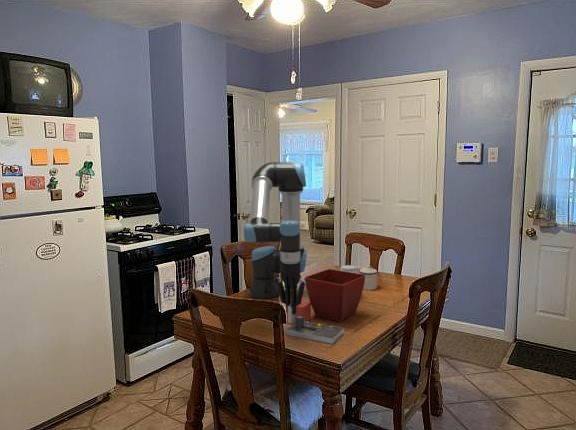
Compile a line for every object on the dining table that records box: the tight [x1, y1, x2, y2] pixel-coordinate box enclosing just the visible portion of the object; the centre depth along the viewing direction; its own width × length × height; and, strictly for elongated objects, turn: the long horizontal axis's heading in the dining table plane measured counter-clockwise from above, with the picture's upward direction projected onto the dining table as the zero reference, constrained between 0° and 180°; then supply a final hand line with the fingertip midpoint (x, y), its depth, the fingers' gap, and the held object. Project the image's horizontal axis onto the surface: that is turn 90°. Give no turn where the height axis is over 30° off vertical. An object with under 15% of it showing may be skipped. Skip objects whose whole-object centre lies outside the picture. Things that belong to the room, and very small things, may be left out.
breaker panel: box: [285, 320, 345, 345], centre depth 163 cm, size 19×11×3 cm, turn 62°
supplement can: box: [339, 264, 358, 273], centre depth 204 cm, size 8×8×15 cm
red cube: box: [285, 300, 312, 324], centre depth 177 cm, size 8×8×7 cm
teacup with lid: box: [357, 264, 378, 291], centre depth 220 cm, size 12×9×12 cm
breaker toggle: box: [295, 316, 304, 328], centre depth 164 cm, size 2×2×4 cm
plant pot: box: [304, 268, 365, 322], centre depth 182 cm, size 19×19×17 cm
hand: (291, 321), depth 166 cm, fingers closed
